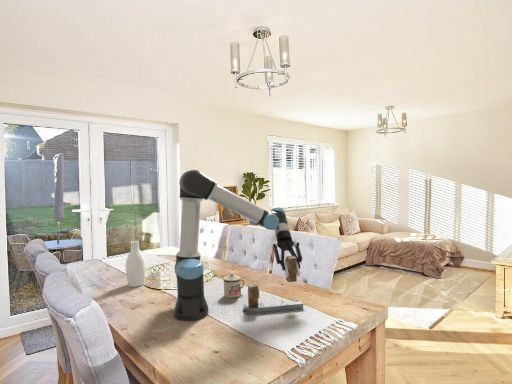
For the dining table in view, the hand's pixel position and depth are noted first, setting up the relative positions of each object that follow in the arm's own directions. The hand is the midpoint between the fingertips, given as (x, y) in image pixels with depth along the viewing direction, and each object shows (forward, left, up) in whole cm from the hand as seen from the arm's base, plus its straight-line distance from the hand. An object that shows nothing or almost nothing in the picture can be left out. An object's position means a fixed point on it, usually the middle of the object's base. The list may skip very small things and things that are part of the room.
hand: (293, 275), depth 153 cm
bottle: (-78, +57, -15) cm, 98 cm away
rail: (-9, +2, -15) cm, 18 cm away
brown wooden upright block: (0, +4, -3) cm, 5 cm away
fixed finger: (-18, +4, -15) cm, 24 cm away
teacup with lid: (-24, +25, -15) cm, 38 cm away
